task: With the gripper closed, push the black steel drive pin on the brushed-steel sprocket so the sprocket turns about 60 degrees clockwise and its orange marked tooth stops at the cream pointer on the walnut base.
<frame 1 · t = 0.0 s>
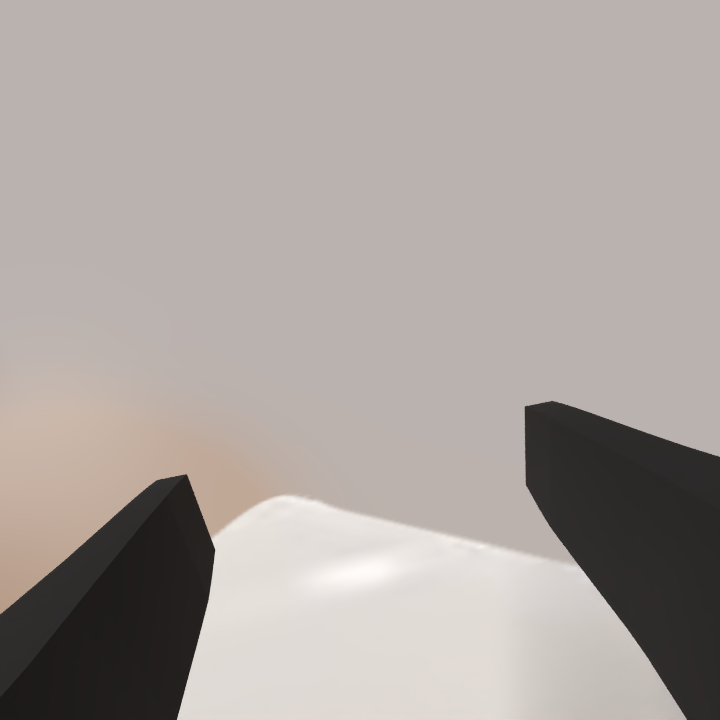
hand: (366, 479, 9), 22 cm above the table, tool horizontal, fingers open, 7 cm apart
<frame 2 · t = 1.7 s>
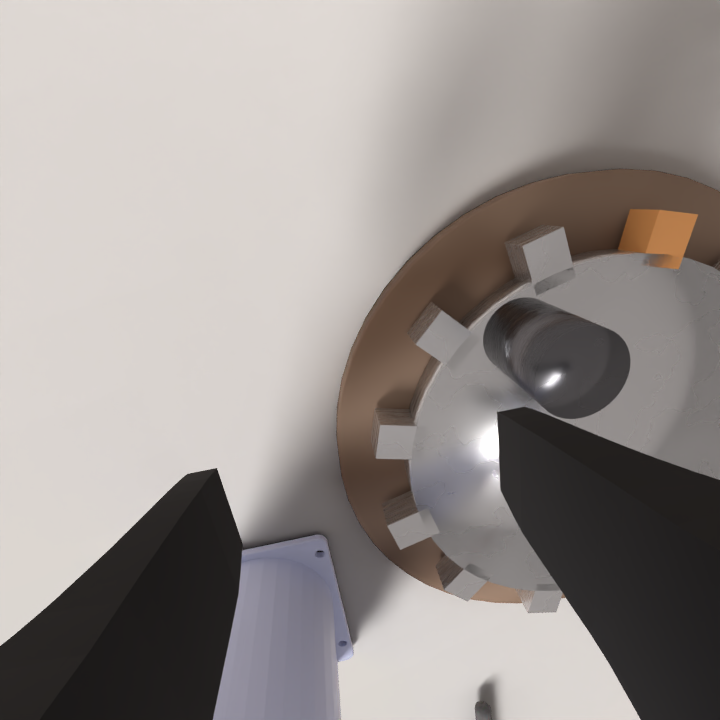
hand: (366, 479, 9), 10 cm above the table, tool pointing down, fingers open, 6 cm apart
sprocket: (617, 464, 18), point 4 cm above the table, hinge at 0.0°
sprocket base: (560, 416, 21), on the table
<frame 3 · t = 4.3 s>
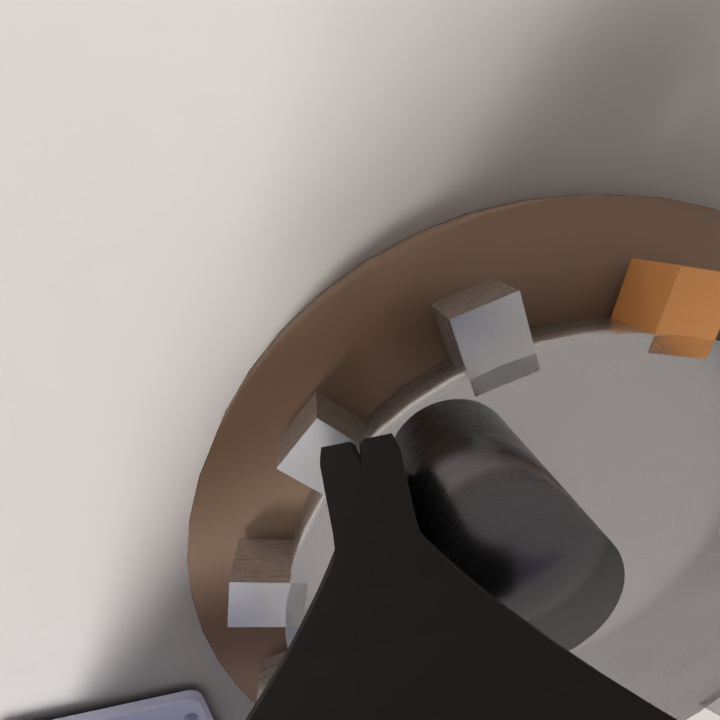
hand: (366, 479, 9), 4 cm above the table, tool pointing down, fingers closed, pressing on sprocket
sprocket: (600, 648, 11), point 4 cm above the table, hinge at -1.7°, touching gripper
sprocket base: (525, 533, 15), on the table
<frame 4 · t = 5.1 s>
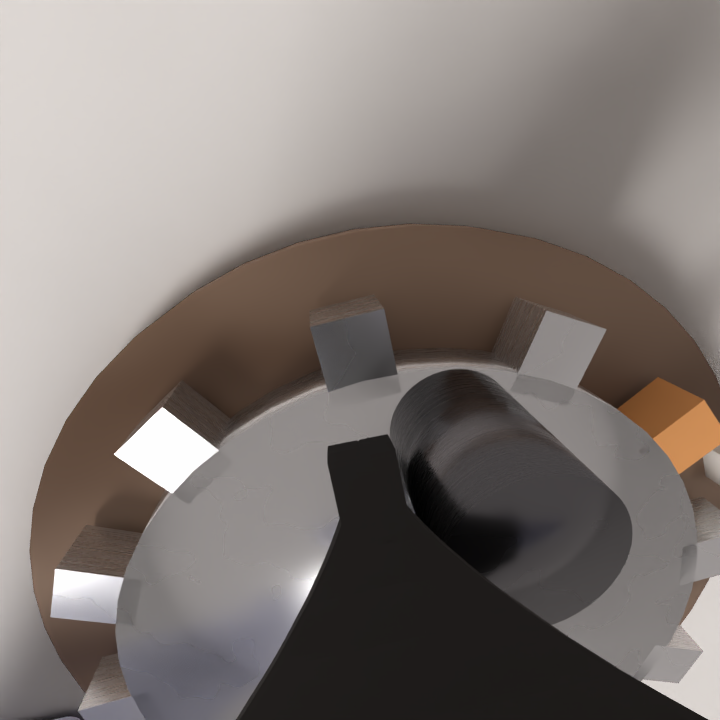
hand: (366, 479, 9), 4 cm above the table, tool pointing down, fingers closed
sprocket: (436, 681, 11), point 4 cm above the table, hinge at -41.2°, touching gripper
sprocket base: (403, 557, 15), on the table
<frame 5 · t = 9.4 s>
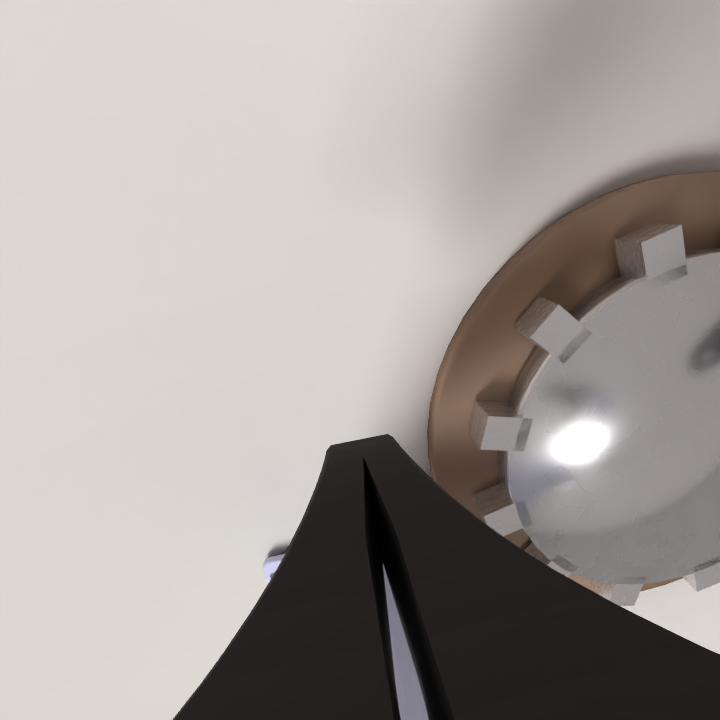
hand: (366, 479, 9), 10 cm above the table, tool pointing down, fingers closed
sprocket: (715, 458, 18), point 4 cm above the table, hinge at -60.8°
sprocket base: (642, 412, 22), on the table
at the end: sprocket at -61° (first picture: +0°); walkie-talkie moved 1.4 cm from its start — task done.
